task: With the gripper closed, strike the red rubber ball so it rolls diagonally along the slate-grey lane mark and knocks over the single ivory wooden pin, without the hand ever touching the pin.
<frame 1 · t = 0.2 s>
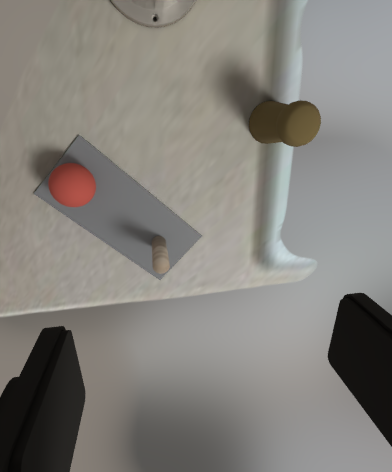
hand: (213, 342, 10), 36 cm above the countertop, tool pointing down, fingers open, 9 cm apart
pin: (158, 241, 47), on the countertop
lane mark: (124, 216, 45), on the countertop
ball: (72, 185, 39), on the countertop
cork: (267, 122, 43), on the countertop
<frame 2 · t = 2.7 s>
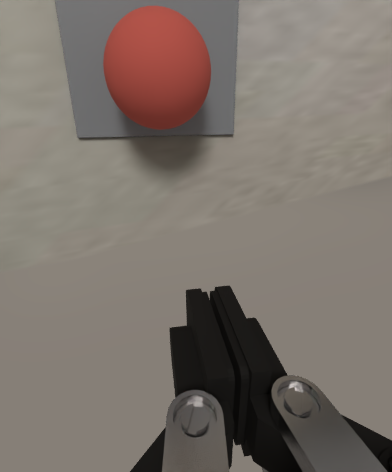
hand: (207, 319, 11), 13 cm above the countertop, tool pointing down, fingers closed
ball: (158, 73, 16), on the countertop
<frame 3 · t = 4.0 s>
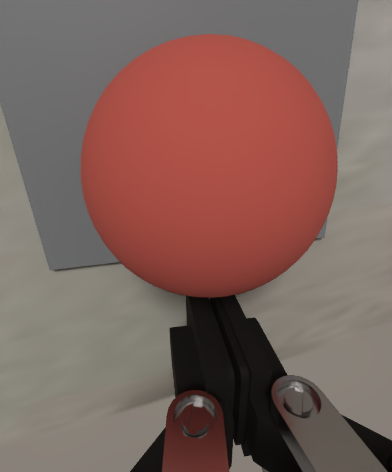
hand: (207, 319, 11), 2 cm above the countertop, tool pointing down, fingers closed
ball: (206, 178, 7), on the countertop
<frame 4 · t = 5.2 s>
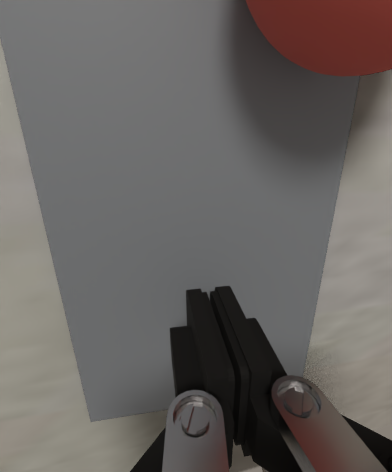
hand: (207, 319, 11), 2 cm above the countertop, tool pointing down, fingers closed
lane mark: (199, 167, 10), on the countertop
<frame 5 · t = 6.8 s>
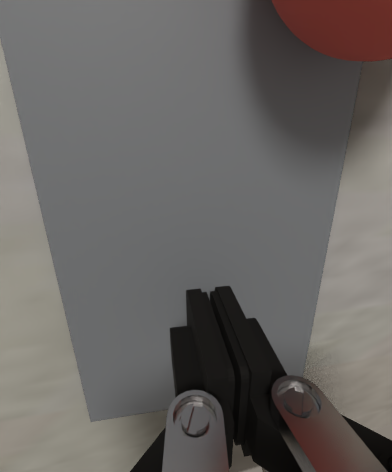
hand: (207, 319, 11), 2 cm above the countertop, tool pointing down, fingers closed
lane mark: (199, 167, 10), on the countertop
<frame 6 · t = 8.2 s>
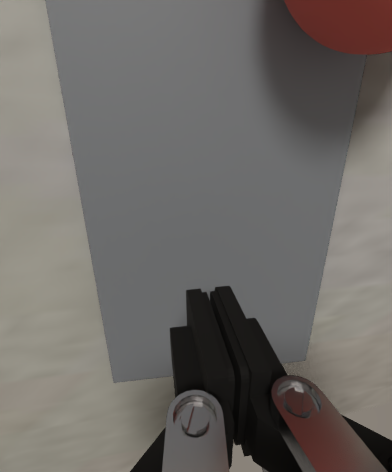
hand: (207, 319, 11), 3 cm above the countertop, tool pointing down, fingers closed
lane mark: (217, 151, 11), on the countertop
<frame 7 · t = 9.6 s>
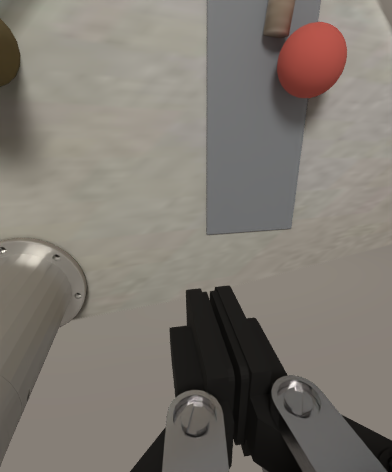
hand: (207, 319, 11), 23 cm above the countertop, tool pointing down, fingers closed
pin: (275, 34, 27), point 1 cm above the countertop, tilted 90°
lane mark: (256, 129, 31), on the countertop
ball: (310, 62, 26), on the countertop
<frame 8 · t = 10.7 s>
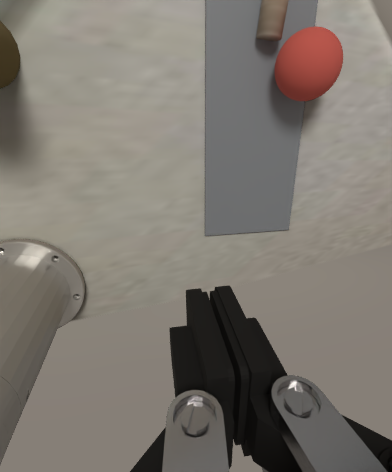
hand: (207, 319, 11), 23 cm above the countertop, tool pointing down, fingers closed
pin: (268, 37, 27), point 1 cm above the countertop, tilted 90°
lane mark: (254, 131, 31), on the countertop
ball: (307, 66, 27), on the countertop
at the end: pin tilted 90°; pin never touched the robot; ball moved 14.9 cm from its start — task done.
